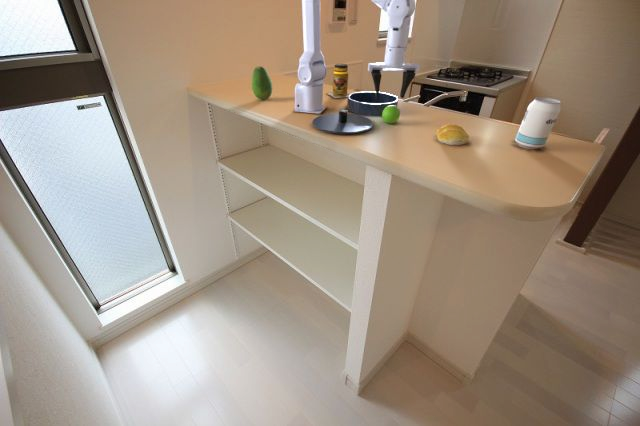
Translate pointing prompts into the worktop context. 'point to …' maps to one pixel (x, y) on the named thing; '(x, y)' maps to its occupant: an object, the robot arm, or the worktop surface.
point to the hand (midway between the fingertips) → (389, 97)
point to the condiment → (340, 81)
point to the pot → (370, 103)
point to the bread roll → (452, 135)
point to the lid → (342, 123)
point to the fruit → (261, 83)
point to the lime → (391, 114)
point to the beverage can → (538, 123)
